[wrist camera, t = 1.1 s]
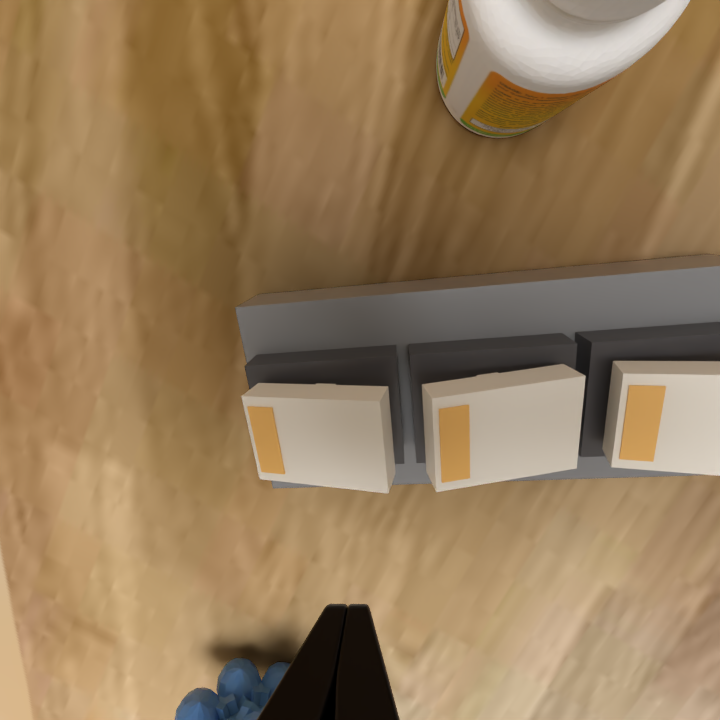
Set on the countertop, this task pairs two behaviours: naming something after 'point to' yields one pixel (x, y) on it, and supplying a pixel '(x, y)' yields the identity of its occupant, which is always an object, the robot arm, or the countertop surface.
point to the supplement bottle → (539, 55)
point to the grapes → (233, 693)
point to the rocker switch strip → (488, 339)
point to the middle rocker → (502, 426)
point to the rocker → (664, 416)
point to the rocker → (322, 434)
